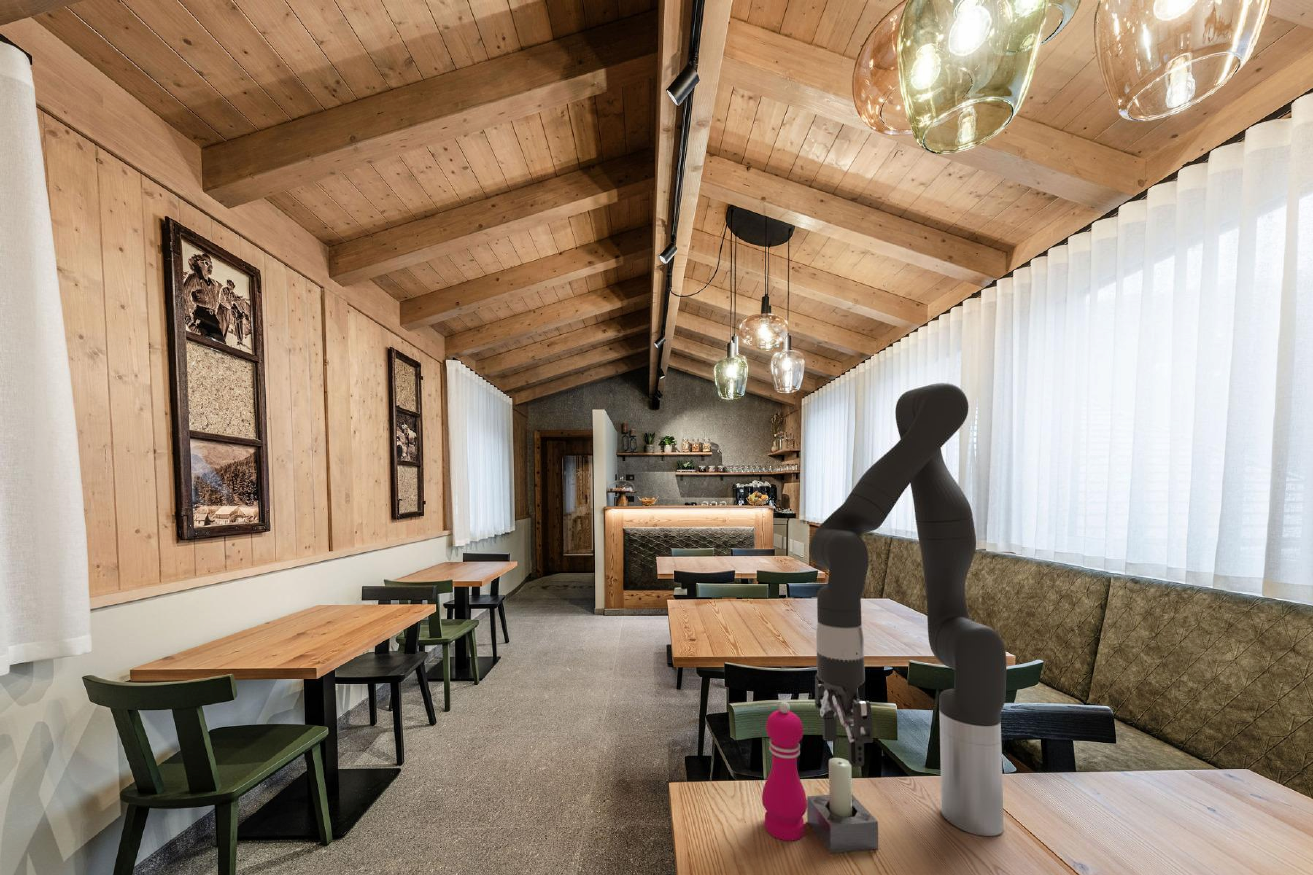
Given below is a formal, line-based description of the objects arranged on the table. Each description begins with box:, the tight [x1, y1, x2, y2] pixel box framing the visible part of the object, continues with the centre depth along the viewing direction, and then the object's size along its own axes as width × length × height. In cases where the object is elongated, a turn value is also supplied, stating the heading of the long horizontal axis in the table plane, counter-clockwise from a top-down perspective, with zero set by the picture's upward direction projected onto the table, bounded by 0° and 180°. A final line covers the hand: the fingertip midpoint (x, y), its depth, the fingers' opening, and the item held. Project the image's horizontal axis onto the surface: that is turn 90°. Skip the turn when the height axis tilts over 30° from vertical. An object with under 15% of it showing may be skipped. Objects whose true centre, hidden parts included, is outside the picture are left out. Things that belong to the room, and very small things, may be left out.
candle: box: [828, 757, 853, 818], centre depth 88 cm, size 4×4×10 cm
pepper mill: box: [761, 701, 807, 842], centre depth 90 cm, size 7×7×20 cm
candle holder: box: [806, 793, 879, 854], centre depth 88 cm, size 8×8×4 cm
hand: (842, 752), depth 89 cm, fingers open, 8 cm apart
